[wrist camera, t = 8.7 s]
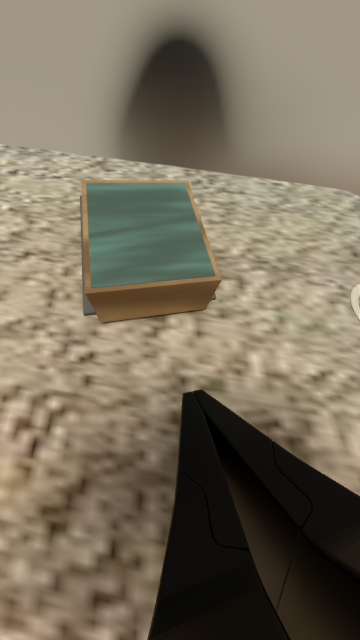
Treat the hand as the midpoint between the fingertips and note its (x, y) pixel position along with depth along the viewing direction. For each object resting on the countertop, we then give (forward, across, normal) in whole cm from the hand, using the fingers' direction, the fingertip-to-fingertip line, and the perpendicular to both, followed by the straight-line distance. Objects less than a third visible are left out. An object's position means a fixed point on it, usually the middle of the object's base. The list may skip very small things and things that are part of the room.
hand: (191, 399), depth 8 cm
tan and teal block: (+10, 0, -2) cm, 10 cm away
